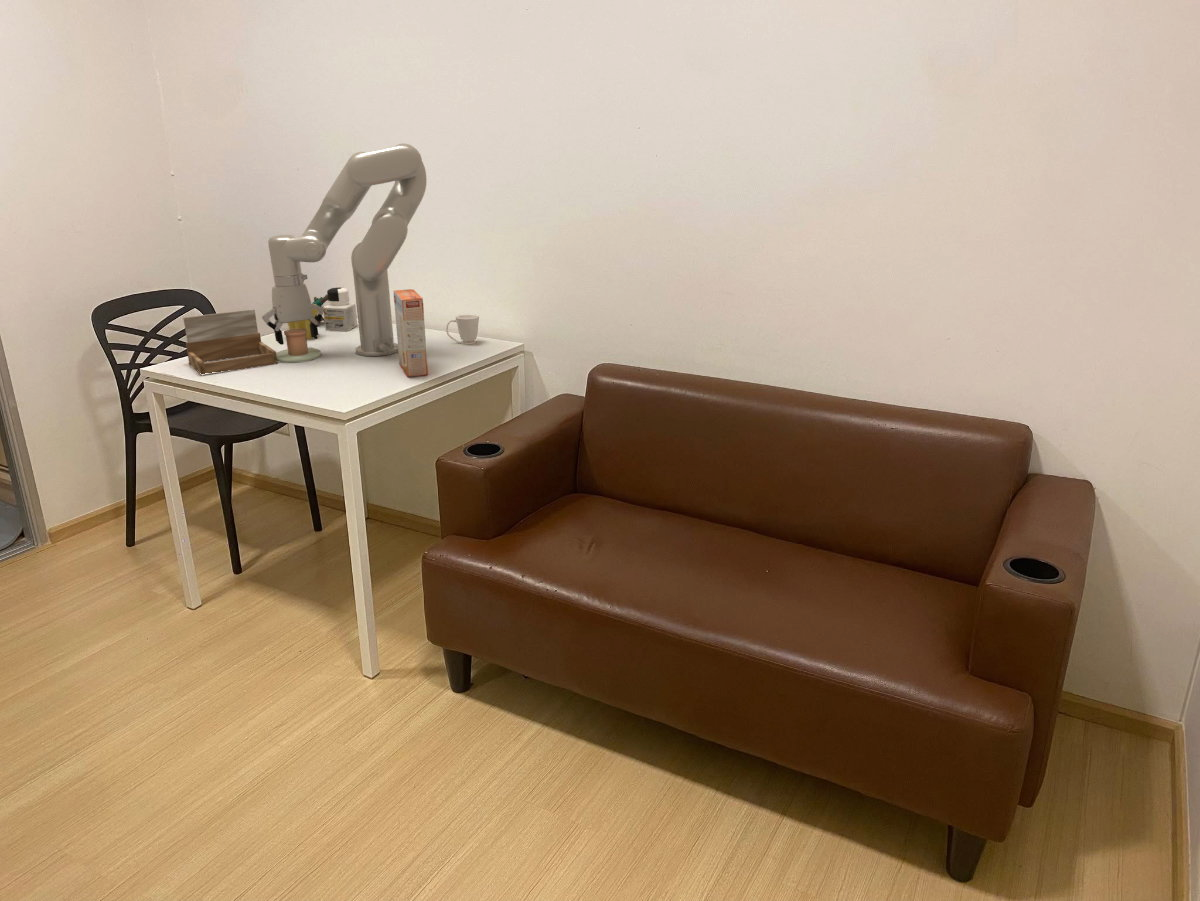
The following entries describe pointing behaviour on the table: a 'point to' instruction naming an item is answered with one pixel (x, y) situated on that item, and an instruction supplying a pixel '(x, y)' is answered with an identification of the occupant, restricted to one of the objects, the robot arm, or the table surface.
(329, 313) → the container
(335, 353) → the table surface
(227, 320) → the wooden drawer
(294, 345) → the clay pot
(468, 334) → the cup
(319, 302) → the binoculars
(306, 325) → the plant pot
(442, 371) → the table surface
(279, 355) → the pale green disc
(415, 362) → the cracker box
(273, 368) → the table surface
